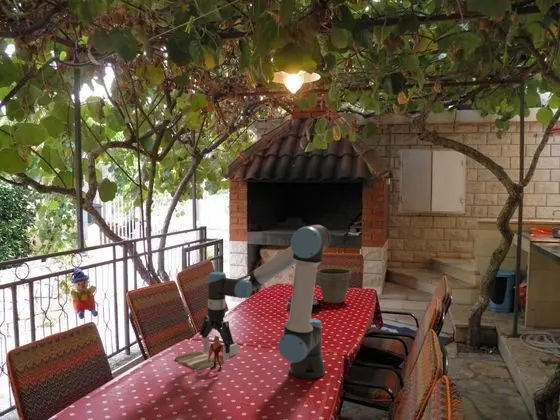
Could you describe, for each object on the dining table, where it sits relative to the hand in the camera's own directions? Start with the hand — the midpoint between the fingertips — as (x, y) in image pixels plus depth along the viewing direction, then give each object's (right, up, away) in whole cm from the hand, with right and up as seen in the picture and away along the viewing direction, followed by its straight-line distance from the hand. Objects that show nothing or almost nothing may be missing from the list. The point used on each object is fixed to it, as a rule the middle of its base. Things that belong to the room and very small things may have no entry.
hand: (215, 355), depth 194 cm
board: (-9, -5, +9) cm, 14 cm away
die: (+4, -5, +18) cm, 19 cm away
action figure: (0, -6, 0) cm, 6 cm away
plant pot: (+66, -1, +122) cm, 139 cm away
